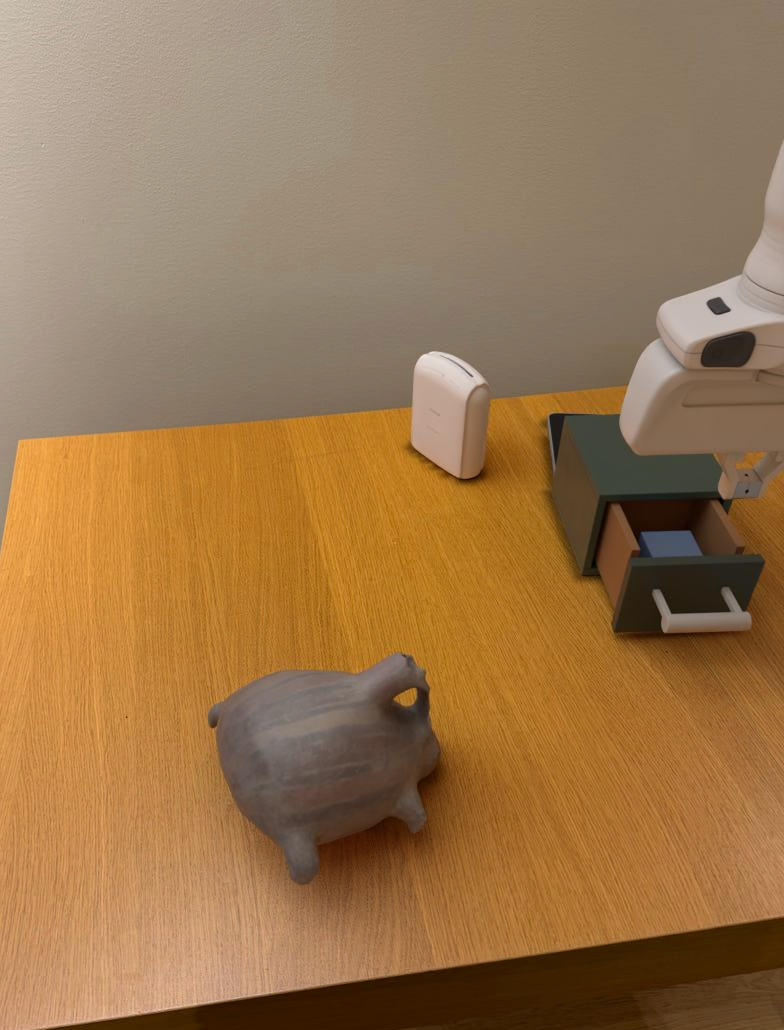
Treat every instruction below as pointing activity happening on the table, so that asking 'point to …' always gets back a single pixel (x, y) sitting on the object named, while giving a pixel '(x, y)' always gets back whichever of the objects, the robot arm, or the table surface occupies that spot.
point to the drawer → (676, 568)
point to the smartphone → (557, 432)
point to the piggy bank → (326, 754)
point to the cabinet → (618, 479)
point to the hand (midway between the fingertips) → (739, 494)
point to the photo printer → (450, 413)
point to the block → (668, 544)
